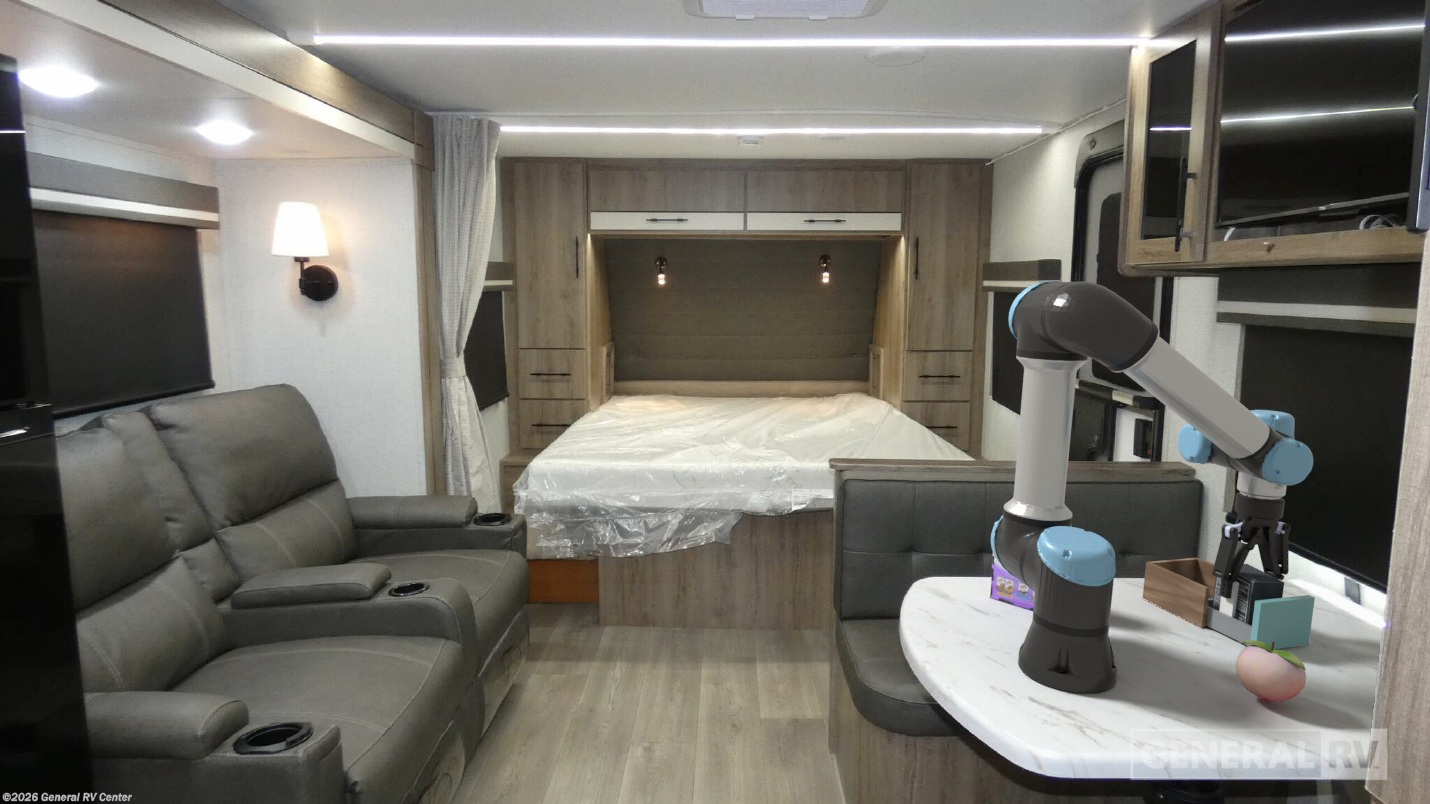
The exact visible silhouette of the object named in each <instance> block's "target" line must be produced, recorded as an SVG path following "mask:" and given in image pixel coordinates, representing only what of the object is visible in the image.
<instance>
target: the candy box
mask: <svg viewBox="0 0 1430 804" xmlns="http://www.w3.org/2000/svg"><path fill="white" fill-rule="evenodd" d="M996 522H997V521H995V522H994V524H995V523H996ZM1034 596H1035V592H1034V591H1033V590H1032V589H1030V588H1029V587H1028V586H1027V585H1025V584H1024V583H1023V582H1022V581H1020V580H1019V579H1018V578H1016V577H1014V576H1013V575H1011V574H1010V573H1008V572H1007V570H1005V569H1004V568H1003V567H1002V565H1001V564H1000V563H999V562H998V560H997V559H996V557H995V556H994V553H993V552H992V563H991V581H990V594H989V598H990V599H993V600H996V601H1000V602H1003V603H1007V604H1010V605H1013V606H1016V607H1020V608H1023V609H1027V610H1030V611H1033V608H1034Z"/></svg>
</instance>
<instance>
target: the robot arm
mask: <svg viewBox="0 0 1430 804" xmlns="http://www.w3.org/2000/svg"><path fill="white" fill-rule="evenodd" d="M1008 327H1009V329H1010V332H1011V334H1012V335H1013V336H1014V338H1015V339H1016V340H1017V341H1016V354H1015V357H1016V360H1018V361H1019V363H1020V364H1021V365H1022V367H1023V379H1022V381H1023V382H1022V391H1021V392H1022V393H1021V401H1020V415H1019V425H1018V426H1019V429H1018V438H1017V449H1016V451H1017V452H1016V462H1015V473H1014V484H1013V485H1014V486H1013V496H1012V498H1011V499H1010V500H1009V501H1007V502H1006V503H1005V504H1003V511H1002V515H1001V516H1000V518H999V519H998V520H996V521H995V522H996V523H995V522H994V524H993V527H992V531H991V534H990V547H991V550H992V554H993V553H994V556H995V557H996V559H997V560H998V562H999V563H1000V564H1001V565H1002V567H1003V568H1004V569H1005V570H1007V572H1008V573H1010V574H1011V575H1013V576H1014V577H1016V578H1018V579H1019V580H1020V581H1022V582H1023V583H1024V584H1025V585H1027V586H1028V587H1029V588H1030V589H1032V590H1033V591H1034V592H1035V596H1034V608H1033V610H1032V621H1031V624H1030V626H1029V628H1028V631H1027V632H1026V636H1025V638H1024V639H1023V640H1024V641H1023V643H1021V646H1020V647H1019V650H1018V660H1017V663H1018V667H1019V669H1020V670H1021V672H1023V674H1025V675H1026V676H1027V677H1029V678H1030V679H1032V680H1034V681H1035V682H1038V683H1040V684H1042V685H1045V686H1047V687H1051V688H1054V689H1057V690H1061V691H1067V692H1072V693H1081V694H1095V693H1102V692H1106V691H1109V690H1111V689H1112V688H1113V687H1115V685H1116V683H1117V677H1118V676H1117V675H1118V673H1117V672H1118V667H1117V664H1116V663H1117V662H1116V660H1115V656H1114V652H1113V648H1112V644H1111V641H1110V640H1111V639H1110V637H1109V632H1110V629H1109V628H1110V621H1111V611H1112V603H1113V602H1112V601H1113V590H1114V580H1115V575H1116V571H1117V570H1116V569H1117V568H1116V553H1115V549H1114V547H1113V545H1112V544H1111V543H1110V542H1109V541H1108V540H1107V539H1105V538H1104V537H1102V535H1099V534H1097V533H1095V532H1093V531H1086V530H1085V529H1083V528H1079V527H1073V526H1072V525H1073V512H1072V511H1071V509H1070V508H1069V507H1067V505H1066V503H1065V499H1066V498H1065V496H1066V487H1067V478H1068V466H1069V457H1070V456H1069V455H1070V446H1071V435H1072V424H1073V415H1074V413H1073V412H1074V403H1075V393H1076V384H1077V383H1076V380H1077V372H1078V370H1079V369H1080V368H1081V367H1082V366H1083V365H1085V364H1087V363H1088V358H1090V359H1093V360H1094V361H1096V362H1098V363H1100V364H1101V365H1103V366H1105V367H1106V368H1107V369H1108V370H1109V371H1111V372H1113V373H1124V374H1125V375H1126V376H1128V377H1129V378H1130V379H1131V380H1132V381H1134V382H1135V383H1137V384H1138V385H1139V386H1141V388H1143V389H1144V390H1146V392H1148V393H1150V394H1151V395H1152V396H1153V397H1154V398H1156V400H1158V401H1160V403H1162V404H1163V405H1164V406H1166V407H1167V408H1168V409H1170V410H1171V411H1172V412H1173V413H1174V414H1175V415H1177V416H1178V417H1179V418H1180V419H1182V420H1184V421H1185V422H1186V423H1185V424H1184V425H1183V426H1182V427H1181V429H1180V430H1179V432H1178V436H1177V448H1178V452H1179V454H1180V456H1181V457H1182V459H1184V460H1185V461H1186V462H1188V463H1192V464H1200V465H1206V464H1211V465H1212V464H1213V465H1217V466H1220V467H1224V468H1226V469H1230V470H1233V471H1236V472H1238V477H1237V484H1236V489H1237V490H1238V492H1237V493H1236V495H1235V501H1234V511H1235V512H1236V513H1237V519H1236V521H1235V523H1234V524H1232V525H1229V524H1228V525H1227V524H1225V523H1224V524H1223V525H1222V526H1221V538H1220V541H1219V545H1218V549H1217V550H1218V551H1217V553H1216V557H1215V561H1214V563H1213V564H1214V568H1213V572H1212V574H1213V575H1214V576H1216V577H1219V578H1221V588H1220V596H1221V602H1220V610H1219V611H1220V612H1222V613H1225V614H1227V615H1229V616H1231V617H1235V612H1236V604H1237V596H1238V589H1239V583H1238V582H1236V579H1237V577H1238V574H1239V572H1240V570H1241V568H1242V566H1243V564H1245V562H1246V560H1247V557H1248V556H1249V553H1250V551H1253V550H1254V549H1255V547H1256V546H1257V547H1258V552H1259V556H1260V560H1261V565H1262V569H1263V572H1264V573H1266V574H1268V575H1270V576H1272V577H1274V578H1276V579H1278V580H1280V581H1283V580H1284V578H1285V576H1286V575H1288V574H1289V558H1290V557H1289V553H1290V552H1289V536H1290V534H1291V533H1290V532H1291V528H1292V525H1291V524H1288V523H1286V522H1282V521H1279V520H1281V519H1282V518H1283V517H1284V511H1285V510H1284V509H1285V504H1286V501H1285V499H1284V497H1285V496H1286V494H1287V493H1286V492H1287V486H1295V485H1297V484H1299V483H1302V482H1303V481H1304V480H1306V478H1307V477H1308V475H1309V474H1310V473H1311V472H1312V469H1313V466H1314V456H1313V452H1312V451H1311V449H1310V448H1309V446H1308V445H1306V443H1303V442H1302V441H1300V440H1299V441H1298V440H1296V439H1295V423H1296V421H1295V417H1294V416H1293V415H1292V414H1291V413H1287V412H1284V411H1277V410H1271V409H1270V410H1268V409H1254V410H1252V409H1251V410H1249V409H1248V408H1247V407H1246V406H1245V405H1244V404H1243V403H1241V402H1240V401H1238V400H1237V398H1235V397H1234V396H1233V395H1232V394H1230V393H1229V392H1228V391H1226V390H1225V389H1224V387H1221V386H1220V384H1218V383H1216V382H1215V381H1214V380H1213V379H1212V378H1211V377H1209V376H1208V375H1207V374H1205V373H1204V371H1202V370H1201V369H1200V368H1198V367H1197V366H1196V365H1195V364H1194V363H1193V362H1191V361H1190V360H1188V359H1187V358H1186V357H1185V356H1184V355H1182V354H1181V353H1180V352H1179V351H1178V350H1177V349H1175V348H1174V347H1173V346H1172V345H1170V343H1168V342H1167V341H1166V340H1164V339H1163V338H1162V337H1161V336H1160V328H1159V326H1158V325H1157V324H1156V323H1154V321H1153V320H1151V319H1150V318H1148V317H1147V316H1146V315H1145V314H1143V313H1142V312H1141V311H1140V310H1138V309H1137V308H1136V307H1135V306H1133V305H1132V304H1131V303H1130V302H1128V301H1127V300H1126V299H1124V298H1123V297H1121V296H1120V295H1118V294H1117V292H1115V291H1112V290H1111V289H1109V288H1108V287H1106V286H1103V285H1101V284H1098V283H1095V282H1092V281H1058V280H1051V281H1047V280H1046V281H1043V282H1038V283H1034V284H1032V285H1030V286H1027V287H1026V288H1025V289H1023V290H1022V291H1021V292H1020V293H1018V294H1017V296H1016V297H1015V299H1014V300H1013V302H1012V304H1011V306H1010V308H1009V312H1008ZM1229 574H1230V575H1229Z"/></svg>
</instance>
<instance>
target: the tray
mask: <svg viewBox="0 0 1430 804" xmlns="http://www.w3.org/2000/svg"><path fill="white" fill-rule="evenodd" d="M1315 599H1316V597H1315V596H1311V595H1310V594H1308V595H1307V594H1305V595H1296V596H1287V597H1282V598H1276V599H1267V600H1257V601H1255V605H1254V614H1253V622H1252V626H1251V625H1248V624H1246V623H1244V622H1242V621H1240V620H1237V619H1235V618H1233V617H1231V616H1229V615H1227V614H1224V613H1222V612H1220V611H1218V610H1216V609H1214V608H1212V604H1213V598H1210V599H1208V605H1207V614H1206V623H1205V627H1206V626H1207V627H1208V628H1211V629H1213V630H1215V631H1217V632H1219V633H1221V634H1223V635H1225V636H1227V637H1230V638H1231V639H1234V640H1235V641H1238V643H1239V642H1240V644H1241V643H1242V642H1243V641H1247V640H1256V641H1261V642H1263V643H1266V644H1267V645H1269V646H1270V647H1272V642H1273V641H1274V642H1275V643H1274V649H1275V650H1281V649H1287V648H1295V647H1301V646H1302V647H1303V646H1309V643H1310V637H1311V636H1310V635H1311V629H1312V622H1313V613H1314V606H1315ZM1244 645H1245V646H1246V647H1247V646H1250V645H1252V644H1244Z"/></svg>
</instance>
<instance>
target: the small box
mask: <svg viewBox="0 0 1430 804" xmlns="http://www.w3.org/2000/svg"><path fill="white" fill-rule="evenodd" d="M1229 575H1230V574H1229ZM1236 582H1238V583H1239V589H1238V596H1237V604H1236V612H1235V617H1233V618H1235V619H1237V620H1240V621H1242V622H1244V623H1246V624H1248V625H1251V626H1252V622H1253V614H1254V605H1255V601H1257V600H1267V599H1276V598H1284V597H1283V595H1284V588H1285V582H1284V581H1283V580H1279V579H1276V578H1274V577H1272V576H1270V575H1268V574H1266V573H1264V571H1262V570H1261V569H1258V568H1256V567H1254V566H1252V565H1250V564H1249V563H1244V564H1243V566H1242V568H1241V570H1240V572H1239V574H1238V577H1237V579H1236ZM1220 588H1221V578H1219V577H1216V581H1215V589H1214V597H1213V604H1212V608H1214V609H1216V610H1218V611H1219V610H1220V602H1221V596H1220ZM1224 614H1225V613H1224Z"/></svg>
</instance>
